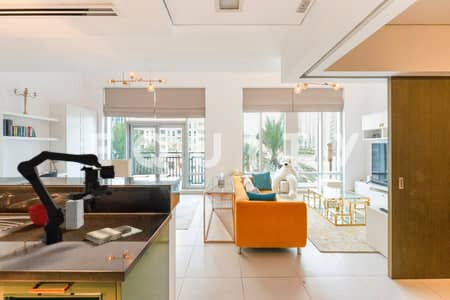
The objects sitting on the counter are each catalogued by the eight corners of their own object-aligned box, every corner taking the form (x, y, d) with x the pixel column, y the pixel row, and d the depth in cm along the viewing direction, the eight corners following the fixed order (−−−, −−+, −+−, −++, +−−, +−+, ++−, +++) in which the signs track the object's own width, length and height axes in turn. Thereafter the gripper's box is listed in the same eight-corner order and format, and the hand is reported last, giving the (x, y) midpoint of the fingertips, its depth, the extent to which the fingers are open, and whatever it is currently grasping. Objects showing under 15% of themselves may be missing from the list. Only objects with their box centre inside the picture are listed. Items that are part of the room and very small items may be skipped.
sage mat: (123, 237, 124) (123, 236, 124) (108, 232, 131) (108, 231, 131) (142, 231, 133) (142, 230, 133) (127, 226, 140) (127, 225, 140)
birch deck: (99, 244, 115) (99, 238, 114) (85, 238, 121) (85, 233, 121) (121, 237, 123) (121, 232, 123) (107, 232, 130) (107, 227, 130)
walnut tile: (119, 235, 125) (119, 231, 125) (111, 232, 128) (111, 228, 128) (131, 231, 131) (131, 227, 131) (124, 229, 134) (124, 225, 134)
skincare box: (77, 229, 134) (77, 201, 134) (65, 229, 134) (65, 201, 133) (83, 224, 143) (84, 198, 143) (72, 225, 142) (72, 198, 142)
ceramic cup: (67, 219, 153) (67, 202, 153) (44, 228, 136) (44, 209, 136) (47, 218, 155) (47, 201, 154) (22, 226, 138) (22, 208, 138)
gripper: (79, 183, 112) (79, 219, 112) (118, 179, 127) (118, 210, 127) (67, 181, 118) (67, 214, 118) (106, 177, 134) (106, 207, 134)
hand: (91, 211), depth 124 cm, fingers closed
